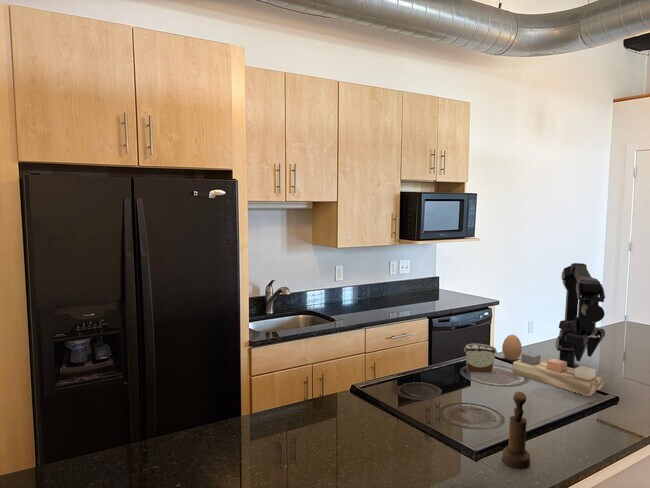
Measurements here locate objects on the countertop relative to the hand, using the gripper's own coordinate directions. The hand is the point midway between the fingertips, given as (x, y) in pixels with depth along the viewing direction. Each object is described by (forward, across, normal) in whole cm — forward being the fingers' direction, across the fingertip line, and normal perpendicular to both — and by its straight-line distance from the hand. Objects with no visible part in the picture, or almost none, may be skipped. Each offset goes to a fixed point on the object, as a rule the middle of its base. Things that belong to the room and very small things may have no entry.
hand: (583, 358), depth 172 cm
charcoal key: (+7, 0, -19) cm, 20 cm away
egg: (+11, -9, -32) cm, 36 cm away
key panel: (+11, 0, -9) cm, 15 cm away
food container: (+11, +14, -33) cm, 38 cm away
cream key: (+7, 0, +1) cm, 7 cm away
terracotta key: (+7, 0, -9) cm, 11 cm away
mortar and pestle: (+11, +66, +12) cm, 68 cm away
